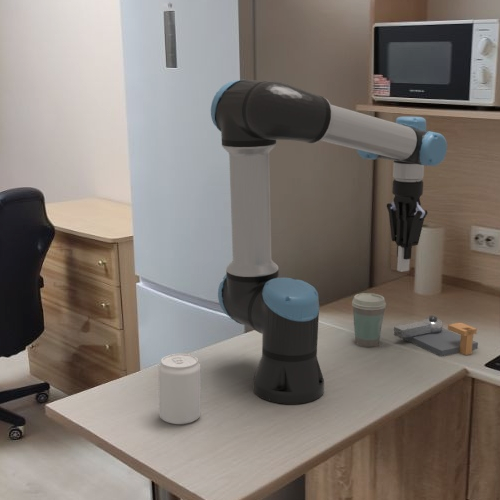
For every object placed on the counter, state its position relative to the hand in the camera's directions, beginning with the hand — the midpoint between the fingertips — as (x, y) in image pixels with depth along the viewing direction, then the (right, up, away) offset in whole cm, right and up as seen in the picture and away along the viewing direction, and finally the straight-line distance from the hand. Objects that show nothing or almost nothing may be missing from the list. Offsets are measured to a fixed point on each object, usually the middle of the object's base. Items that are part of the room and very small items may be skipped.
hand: (403, 270), depth 197 cm
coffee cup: (-10, -18, -4) cm, 21 cm away
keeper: (+12, -20, -8) cm, 25 cm away
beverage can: (-53, -28, -46) cm, 75 cm away
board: (+8, -18, -3) cm, 20 cm away
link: (+4, -16, -1) cm, 16 cm away
